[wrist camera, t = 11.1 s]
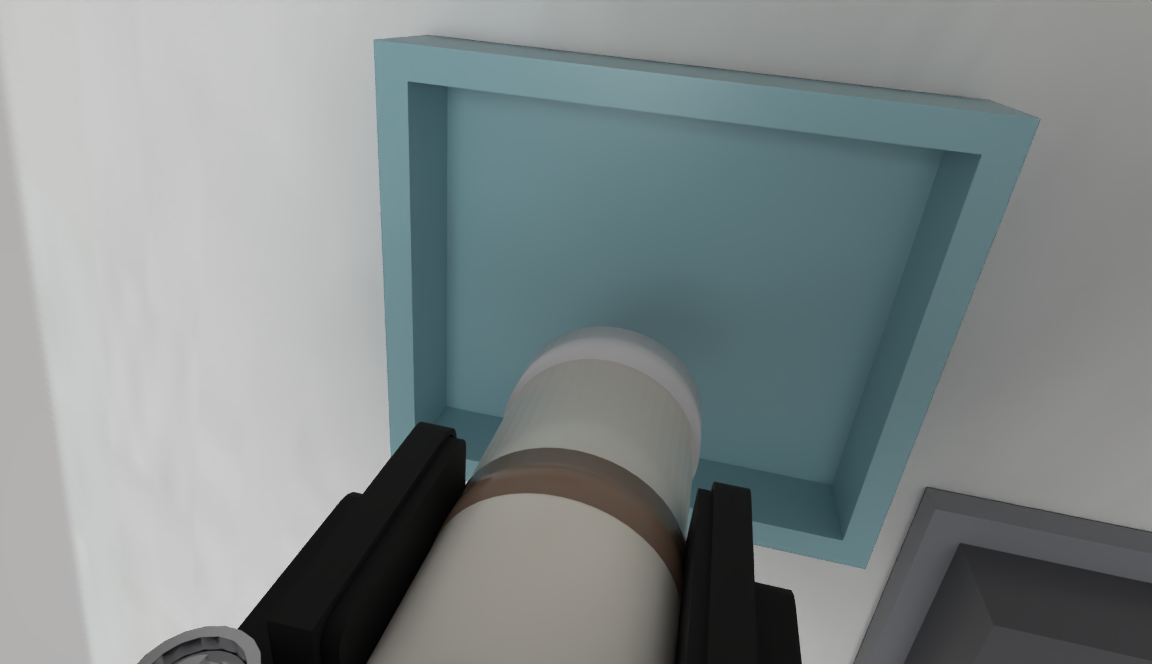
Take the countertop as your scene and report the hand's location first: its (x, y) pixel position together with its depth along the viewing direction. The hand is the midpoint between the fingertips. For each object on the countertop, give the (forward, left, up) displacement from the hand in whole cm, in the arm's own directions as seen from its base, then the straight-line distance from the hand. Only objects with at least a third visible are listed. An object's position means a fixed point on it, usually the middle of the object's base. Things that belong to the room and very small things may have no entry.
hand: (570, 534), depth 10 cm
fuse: (0, 0, -4) cm, 4 cm away
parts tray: (0, 0, -10) cm, 10 cm away
